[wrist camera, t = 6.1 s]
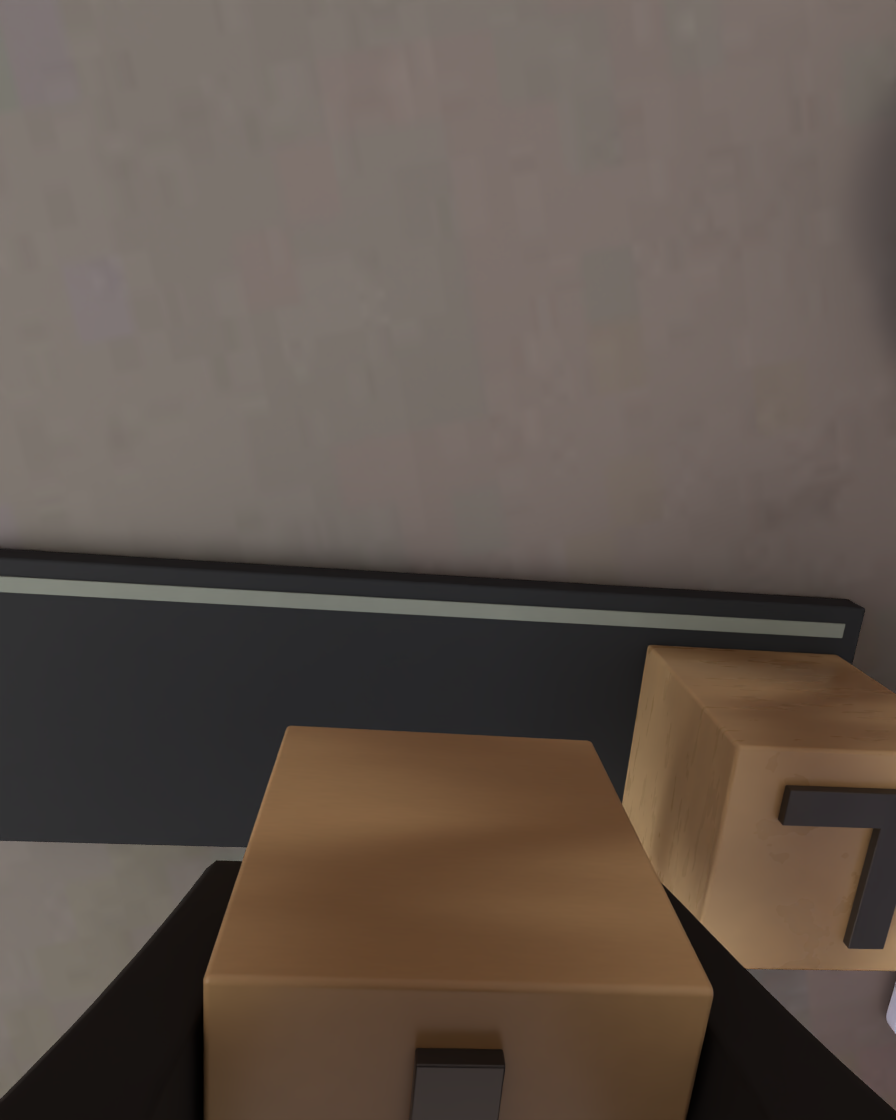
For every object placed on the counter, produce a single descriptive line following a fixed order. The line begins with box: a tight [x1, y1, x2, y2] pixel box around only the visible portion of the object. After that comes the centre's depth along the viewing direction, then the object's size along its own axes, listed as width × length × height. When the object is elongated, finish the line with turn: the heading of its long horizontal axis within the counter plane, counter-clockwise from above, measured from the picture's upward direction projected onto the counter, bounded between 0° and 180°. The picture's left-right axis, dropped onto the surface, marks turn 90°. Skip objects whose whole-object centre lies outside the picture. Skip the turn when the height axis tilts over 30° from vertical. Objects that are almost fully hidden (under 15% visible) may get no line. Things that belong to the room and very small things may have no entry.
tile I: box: [203, 726, 713, 1120], centre depth 8 cm, size 4×4×4 cm
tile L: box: [622, 645, 896, 971], centre depth 13 cm, size 4×4×4 cm
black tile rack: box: [0, 549, 865, 847], centre depth 15 cm, size 17×6×1 cm, turn 85°
